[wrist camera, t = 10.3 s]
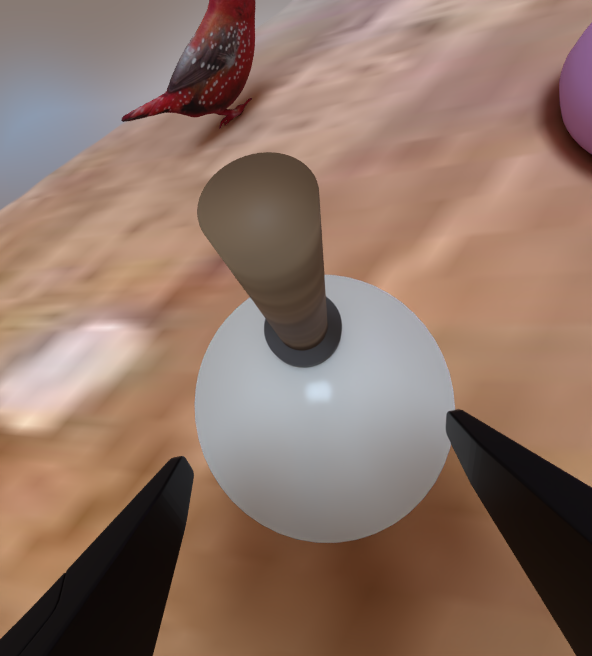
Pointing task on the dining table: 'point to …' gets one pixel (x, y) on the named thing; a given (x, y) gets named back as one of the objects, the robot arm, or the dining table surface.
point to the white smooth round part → (327, 419)
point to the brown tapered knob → (275, 250)
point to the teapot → (578, 91)
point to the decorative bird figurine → (210, 65)
